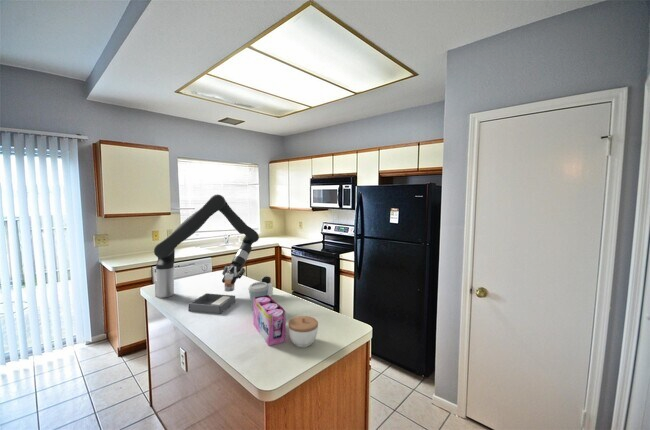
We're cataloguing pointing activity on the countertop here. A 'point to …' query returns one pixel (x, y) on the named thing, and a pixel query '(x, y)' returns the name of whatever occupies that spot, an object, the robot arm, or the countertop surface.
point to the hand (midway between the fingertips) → (227, 282)
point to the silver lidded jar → (229, 281)
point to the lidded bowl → (303, 330)
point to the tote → (205, 303)
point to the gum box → (269, 319)
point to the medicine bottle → (268, 281)
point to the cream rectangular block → (221, 300)
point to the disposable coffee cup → (257, 290)
